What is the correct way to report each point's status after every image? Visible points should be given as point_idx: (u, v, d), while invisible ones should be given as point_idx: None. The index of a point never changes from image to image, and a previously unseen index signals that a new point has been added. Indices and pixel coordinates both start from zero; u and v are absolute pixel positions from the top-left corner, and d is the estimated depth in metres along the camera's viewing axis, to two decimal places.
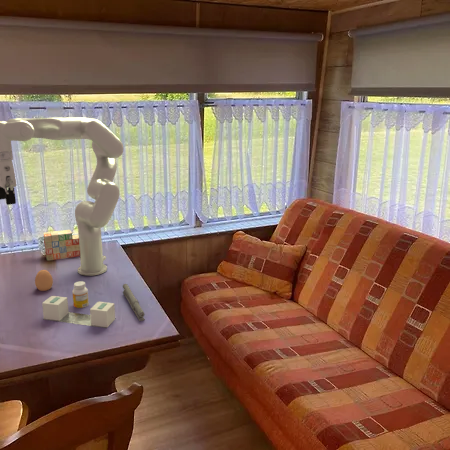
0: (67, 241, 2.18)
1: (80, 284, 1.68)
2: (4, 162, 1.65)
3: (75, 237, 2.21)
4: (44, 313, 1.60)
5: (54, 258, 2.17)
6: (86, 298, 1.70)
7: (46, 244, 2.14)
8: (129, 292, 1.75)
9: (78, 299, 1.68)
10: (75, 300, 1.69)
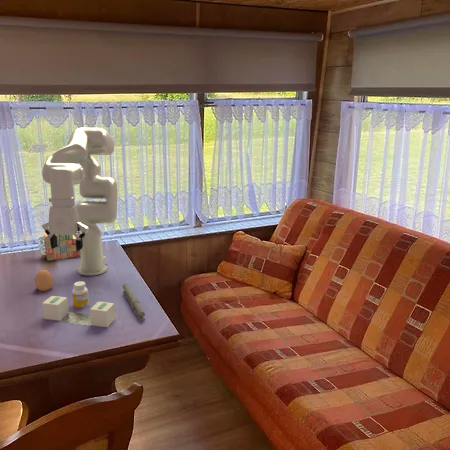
0: (67, 241, 2.18)
1: (80, 284, 1.68)
2: None
3: (75, 237, 2.21)
4: (44, 313, 1.60)
5: (54, 258, 2.17)
6: (86, 298, 1.70)
7: (46, 244, 2.14)
8: (129, 292, 1.75)
9: (78, 299, 1.68)
10: (75, 300, 1.69)
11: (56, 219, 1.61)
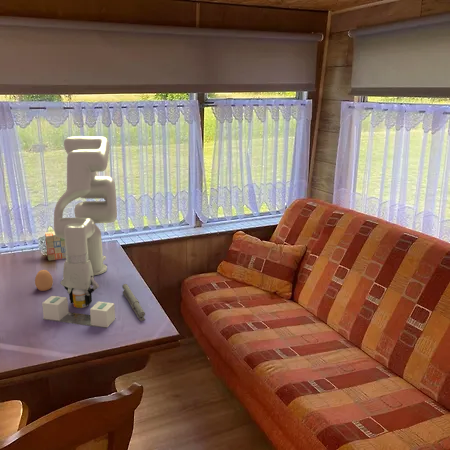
0: None
1: None
2: None
3: None
4: (44, 313, 1.60)
5: (56, 258, 2.17)
6: None
7: (48, 244, 2.14)
8: (129, 292, 1.75)
9: (78, 299, 1.68)
10: (75, 300, 1.69)
11: (70, 274, 1.65)
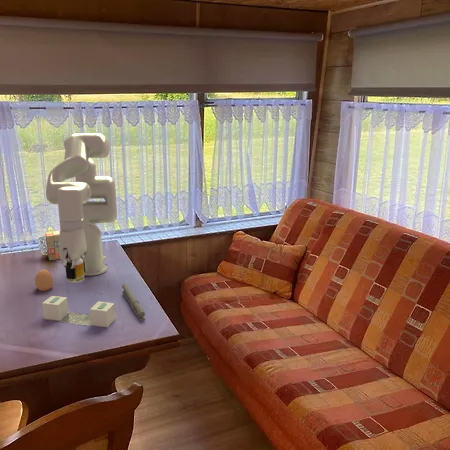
0: None
1: None
2: None
3: None
4: (44, 313, 1.60)
5: (56, 258, 2.18)
6: None
7: (48, 244, 2.14)
8: (129, 292, 1.75)
9: None
10: None
11: None
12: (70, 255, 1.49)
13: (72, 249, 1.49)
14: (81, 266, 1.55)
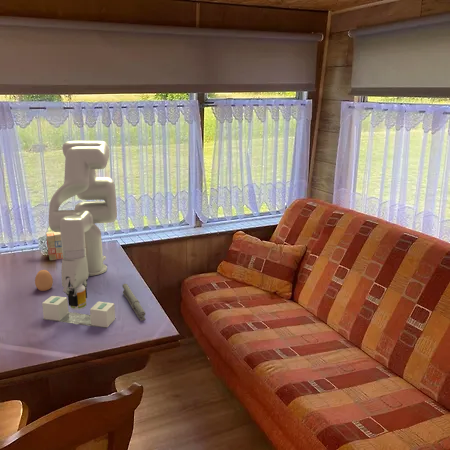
0: None
1: None
2: None
3: None
4: (44, 313, 1.60)
5: (57, 258, 2.18)
6: None
7: (49, 244, 2.14)
8: (129, 292, 1.75)
9: None
10: None
11: None
12: (72, 283, 1.52)
13: (74, 277, 1.52)
14: (83, 293, 1.57)
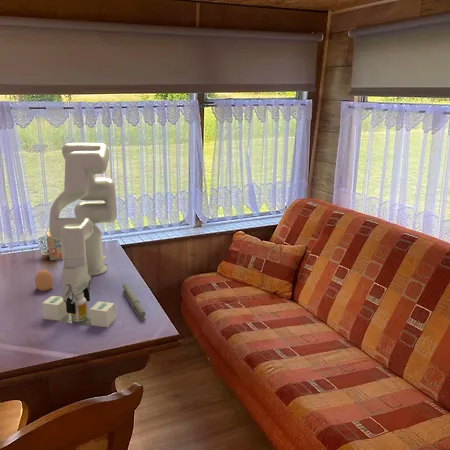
0: None
1: None
2: None
3: None
4: (44, 313, 1.60)
5: (57, 258, 2.18)
6: None
7: (50, 244, 2.14)
8: (129, 292, 1.75)
9: None
10: None
11: None
12: (73, 291, 1.53)
13: (75, 285, 1.53)
14: (84, 305, 1.59)
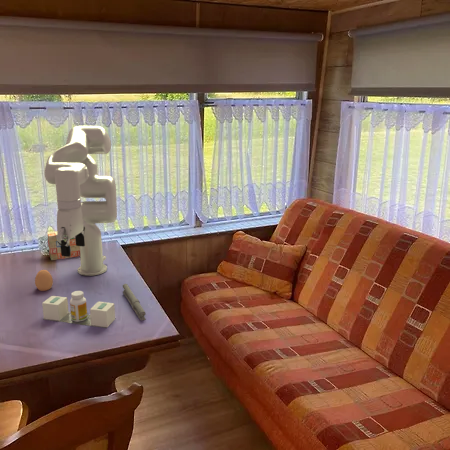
0: (71, 240, 2.19)
1: (74, 293, 1.58)
2: None
3: None
4: (44, 313, 1.60)
5: (58, 258, 2.18)
6: (73, 310, 1.58)
7: (50, 244, 2.14)
8: (129, 292, 1.75)
9: None
10: None
11: None
12: (68, 234, 1.54)
13: (70, 228, 1.54)
14: (84, 305, 1.59)
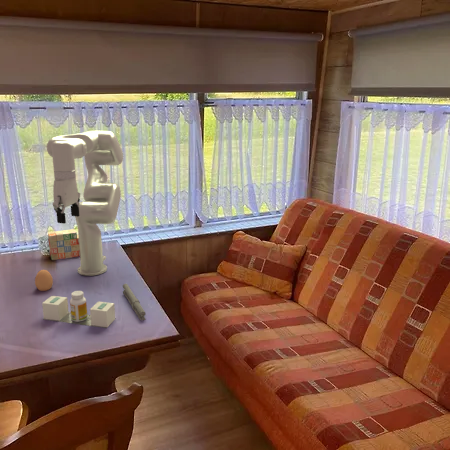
0: (72, 240, 2.19)
1: (74, 293, 1.58)
2: None
3: None
4: (44, 313, 1.60)
5: (59, 257, 2.18)
6: (73, 310, 1.58)
7: (51, 244, 2.14)
8: (129, 292, 1.75)
9: None
10: None
11: None
12: (63, 202, 1.68)
13: (65, 196, 1.68)
14: (84, 305, 1.59)
